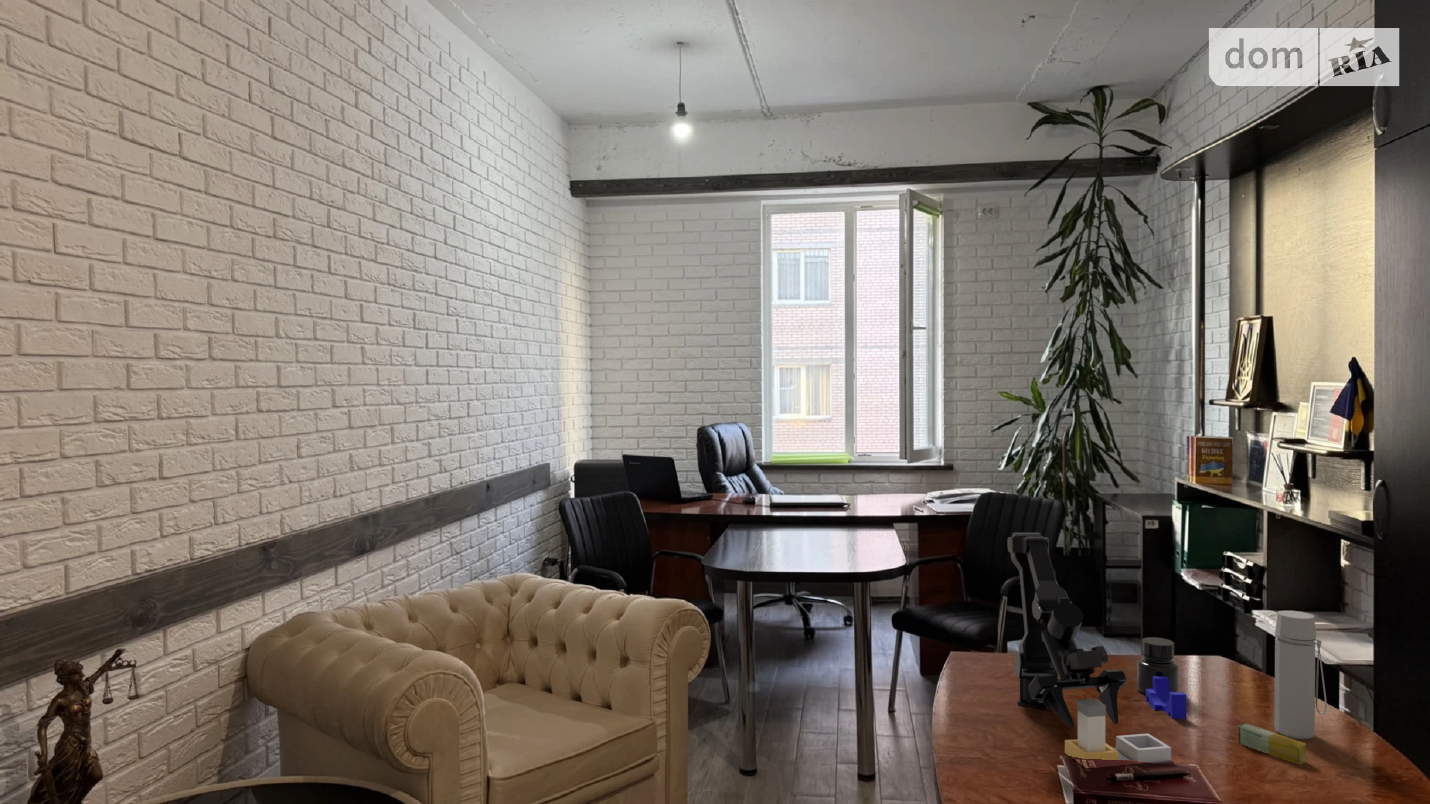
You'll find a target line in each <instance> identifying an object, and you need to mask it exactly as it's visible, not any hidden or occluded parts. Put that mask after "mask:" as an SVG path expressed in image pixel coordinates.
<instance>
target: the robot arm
mask: <svg viewBox="0 0 1430 804" xmlns="http://www.w3.org/2000/svg"><path fill="white" fill-rule="evenodd" d="M1049 542H1050V541H1049V537H1044V536H1043V535H1042V534H1041V532H1012V535H1011V536H1009V537H1007V543H1006V544H1007V550H1008V553H1010V559H1011V562H1012V563H1013V564H1014V566H1015V567H1016V569H1017V570H1018V573H1019V582H1020V593H1021V594H1020V595H1021V602H1022V603H1021V605H1022V615H1023V625H1024V626H1023V627H1024V634H1023V635H1024V636H1023V637H1022V639H1021V640H1020V643H1019V644H1018V651H1017V653H1016V657H1015V660H1014V662H1013V667H1014V668H1013V669H1014V674H1015V675H1016V677H1017V679H1019V699H1018V700H1017V701H1016V702H1017V704H1018V705H1020V706H1021V705H1022V706H1025V707H1030V708H1031V707H1032V708H1037V709H1040V710H1047V709H1048V708H1049V709H1050V710H1051V711H1052V712H1053V713H1054V714H1055V715H1056V716H1058V717H1059V718H1060V719H1061V720H1062V722H1064V724H1065V725H1067V726H1068V727H1069V728H1070V729H1073V728H1074V727H1075V724H1074V720H1073V716H1072V715H1071V712H1070V710H1069V707H1068V705H1067V703H1066V701H1065V699H1064V692H1063V691H1065V690H1079V689H1089V688H1091V689H1092V688H1095V689H1096V692H1098V693H1099V695H1098V699H1099V702H1101V703H1103V704H1104V705H1106V715H1108V718H1109V719H1110V720H1111V722H1112V724H1113V725H1114V726H1116V725H1118V724H1119V711H1118V710H1119V709H1118V693H1119V692H1120V690H1121V689H1122V688H1123V687H1124V686H1125V685H1126V684H1127V683H1128V682H1129V679H1128V677H1127V675H1126V673H1125V672H1124V670H1122V669H1120V668H1114V669H1104V670H1102V671H1101V672H1100V674H1099V675H1098V676H1092V677H1091V675H1093V674H1094V673H1095V672H1096V670H1095V669H1097V668H1102V667H1103V664H1105V663H1108V662H1109V656H1108V653H1107V650H1106V649H1105V647H1104V646H1103V645H1101V646H1098V645H1097V646H1094V647H1093V646H1092V647H1091V650H1084V649H1083V648H1079V647H1078V645H1077V643H1076V640H1075V638H1076V637H1077V635H1078V632H1079V630H1080V628H1081V626H1082V622H1083V621H1084V613H1083V611H1082V610H1081V609H1080V608H1079V606H1078V605H1076V604H1074V603H1073V602H1072V601H1070V598H1069V596H1068V593H1067V591H1066V590H1065V589H1064V588H1062V587H1061V586H1060V585H1059V584H1058V581H1057V579H1056V575H1055V570H1054V567H1053V564H1052V560H1051V558H1050V557H1051V556H1050V544H1049ZM1045 624H1047V625H1046V626H1045Z"/></svg>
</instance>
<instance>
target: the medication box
mask: <svg viewBox="0 0 1430 804" xmlns="http://www.w3.org/2000/svg"><path fill="white" fill-rule="evenodd" d="M1238 744H1240V745H1242V746H1245V747H1247V746H1248V748H1250V749H1254V750H1257V751H1259V752H1261V751H1262V753H1265V754H1267V753H1269V754H1268V755H1270V754H1271V755H1270V756H1273V755H1274V756H1273V757H1276V756H1278V757H1280V758H1279V759H1281V758H1282V760H1285V761H1287V760H1288V761H1287V762H1290V763H1292V764H1295V763H1296V765H1300V766H1301V765H1303V764H1306V763H1307V743H1305V742H1303V741H1299V740H1298V739H1295V738H1289V737H1287V736H1284V735H1282V734H1280V733H1279V734H1278V733H1276V732H1273V731H1271V730H1267V729H1264V728H1262V727H1259V726H1255V725H1253V724H1249V723H1247V722H1245V723H1244V722H1243V723H1241V724H1239V725H1238ZM1278 757H1277V758H1278Z"/></svg>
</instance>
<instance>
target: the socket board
mask: <svg viewBox="0 0 1430 804" xmlns="http://www.w3.org/2000/svg"><path fill="white" fill-rule="evenodd" d="M1063 753H1064V754H1065V755H1067V756H1068V757H1069V756H1072V757H1078V758H1082V759H1102V760H1134V761H1138V762H1148V763H1152V764H1163V763H1172V762H1173V760H1172V747H1171V746H1170V745H1168V744H1166V743H1165V742H1164V741H1161V740H1160V739H1158V738H1156V737H1155V736H1153V735H1151V734H1150V733H1138V734H1126V735H1116V737H1115V747H1112V746H1111V745H1109V744H1108V743H1106V742H1105V751H1101V752H1089V753H1086V752H1085V751H1083V750H1082V749H1080V748H1079V747H1078V738H1076V739H1065V740H1064V751H1063ZM1173 763H1174V762H1173Z"/></svg>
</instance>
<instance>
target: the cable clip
mask: <svg viewBox="0 0 1430 804" xmlns="http://www.w3.org/2000/svg"><path fill="white" fill-rule="evenodd" d="M1145 702H1146V703H1147V702H1149V703H1147V705H1149V706H1150V707H1151V708H1152V709H1153V711H1155V710H1162V711H1161V712H1165V714H1167V715H1168V716H1169V715H1170V718H1171V719H1181V720H1186V721H1187V694H1186V693H1185V692H1182V691H1181V692H1180V691H1179V692H1170V687H1169V678H1168V677H1162V676H1153V689H1146V694H1145Z"/></svg>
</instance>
